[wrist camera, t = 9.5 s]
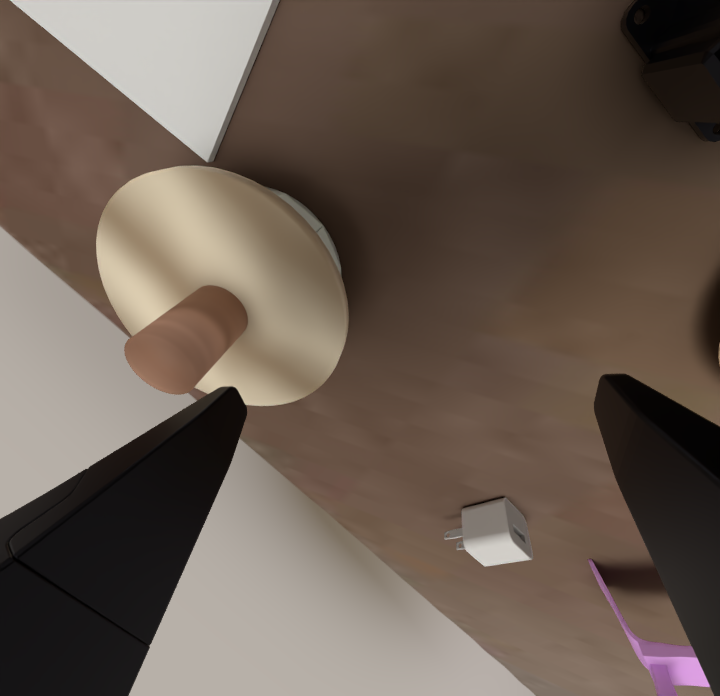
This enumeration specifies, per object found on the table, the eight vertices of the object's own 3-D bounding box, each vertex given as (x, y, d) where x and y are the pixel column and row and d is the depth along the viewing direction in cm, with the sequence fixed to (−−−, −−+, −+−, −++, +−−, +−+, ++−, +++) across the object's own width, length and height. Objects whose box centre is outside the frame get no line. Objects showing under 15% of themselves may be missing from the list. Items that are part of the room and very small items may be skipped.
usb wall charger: (525, 517, 32) (534, 562, 28) (461, 530, 35) (463, 573, 32) (502, 494, 30) (509, 539, 27) (438, 511, 34) (438, 552, 31)
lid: (148, 86, 13) (-8, 72, 8) (403, 299, 16) (388, 372, 11) (93, 306, 20) (-6, 362, 15) (275, 424, 23) (235, 498, 18)
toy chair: (706, 591, 33) (860, 870, 21) (602, 591, 36) (681, 827, 24) (698, 547, 29) (878, 852, 17) (585, 553, 33) (667, 805, 21)
